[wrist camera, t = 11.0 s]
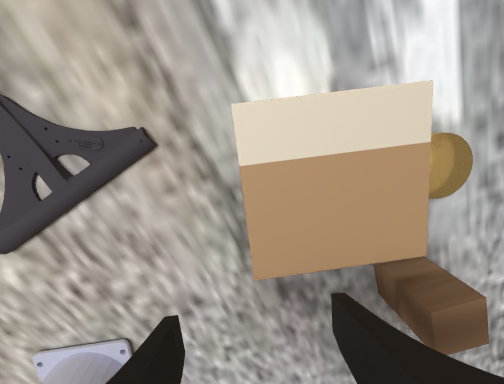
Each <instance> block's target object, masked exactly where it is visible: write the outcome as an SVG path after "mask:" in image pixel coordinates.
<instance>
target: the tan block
mask: <svg viewBox="0 0 504 384" xmlns="http://www.w3.org/2000/svg"><path fill="white" fill-rule="evenodd" d="M432 99H433V80H430V81H422V82H413V83H405V84H397V85H388V86H380V87H371V88H363V89H355V90H346V91H338V92H329V93H321V94H313V95H304V96H296V97H287V98H279V99H271V100H262V101H254V102H245V103H237V104H231V107H232V115H233V123H234V130H235V138H236V146H237V153H238V161H239V168H240V176H241V183H242V191H243V199H244V206H245V214H246V222H247V229H248V237H249V244H250V252H251V260H252V267H253V275H254V281H255V280H262V279H269V278H276V277H283V276H290V275H297V274H304V273H311V272H318V271H324V270H331V269H338V268H345V267H352V266H359V265H366V264H373V263H380V262H387V261H394V260H401V259H408V258H415V257H422V256H427V229H428V203H429V177H430V151H431V125H432Z"/></svg>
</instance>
